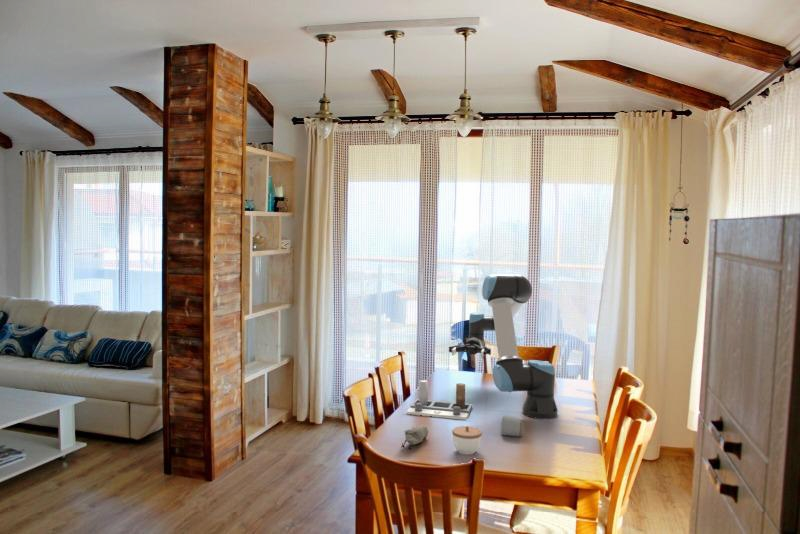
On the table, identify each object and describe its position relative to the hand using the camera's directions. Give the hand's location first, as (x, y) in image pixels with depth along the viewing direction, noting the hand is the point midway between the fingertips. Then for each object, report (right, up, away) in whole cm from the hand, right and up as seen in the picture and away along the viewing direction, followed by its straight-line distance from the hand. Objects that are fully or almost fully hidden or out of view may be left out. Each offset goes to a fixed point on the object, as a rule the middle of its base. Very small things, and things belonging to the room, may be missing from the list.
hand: (467, 353), depth 281 cm
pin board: (-13, -23, -12) cm, 29 cm away
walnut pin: (-5, -24, -14) cm, 28 cm away
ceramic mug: (+13, -26, -43) cm, 52 cm away
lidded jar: (-7, -27, -63) cm, 69 cm away
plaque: (-15, -24, -20) cm, 35 cm away
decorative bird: (-26, -26, -56) cm, 67 cm away
